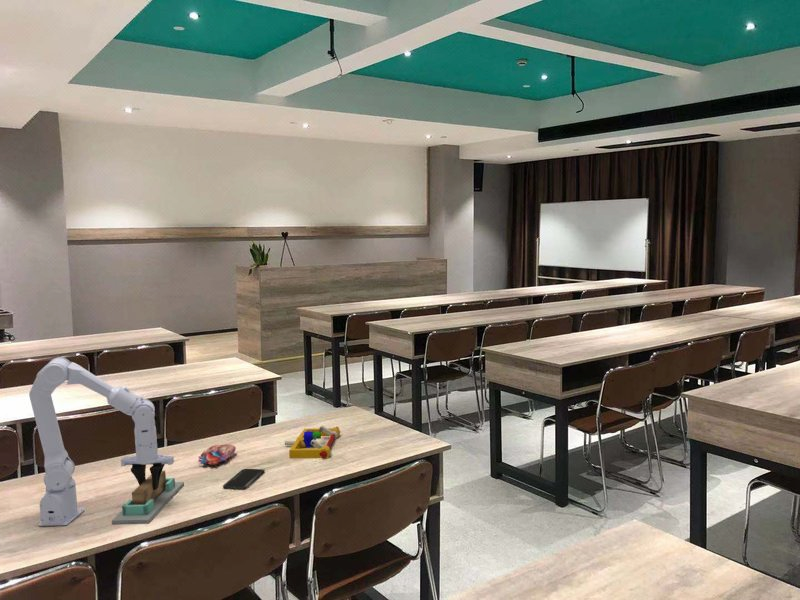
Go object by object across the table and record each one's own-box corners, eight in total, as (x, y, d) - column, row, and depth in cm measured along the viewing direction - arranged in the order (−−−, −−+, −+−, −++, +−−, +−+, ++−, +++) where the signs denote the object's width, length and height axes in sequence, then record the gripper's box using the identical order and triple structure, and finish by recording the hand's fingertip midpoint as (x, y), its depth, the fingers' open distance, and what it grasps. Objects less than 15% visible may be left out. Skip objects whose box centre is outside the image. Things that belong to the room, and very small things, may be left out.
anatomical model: (205, 458, 221) (192, 464, 206) (207, 441, 221) (194, 446, 206) (235, 460, 221) (224, 467, 206) (237, 444, 221) (226, 449, 206)
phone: (265, 469, 202) (245, 487, 187) (265, 472, 202) (245, 491, 187) (243, 468, 204) (221, 486, 189) (243, 471, 204) (221, 490, 189)
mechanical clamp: (341, 417, 241) (328, 442, 211) (342, 433, 242) (328, 460, 212) (294, 418, 242) (274, 443, 212) (295, 433, 243) (275, 461, 213)
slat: (143, 509, 172) (142, 492, 172) (133, 510, 172) (131, 492, 172) (166, 486, 188) (165, 470, 187) (156, 486, 188) (155, 470, 187)
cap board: (148, 523, 167) (147, 510, 167) (112, 524, 167) (111, 511, 167) (184, 485, 193) (183, 474, 193) (152, 485, 193) (151, 474, 193)
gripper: (176, 437, 182) (179, 482, 183) (127, 439, 182) (130, 483, 184) (167, 445, 175) (170, 492, 176) (116, 447, 175) (119, 493, 177)
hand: (149, 488), depth 180 cm, fingers closed on slat, 3 cm apart
